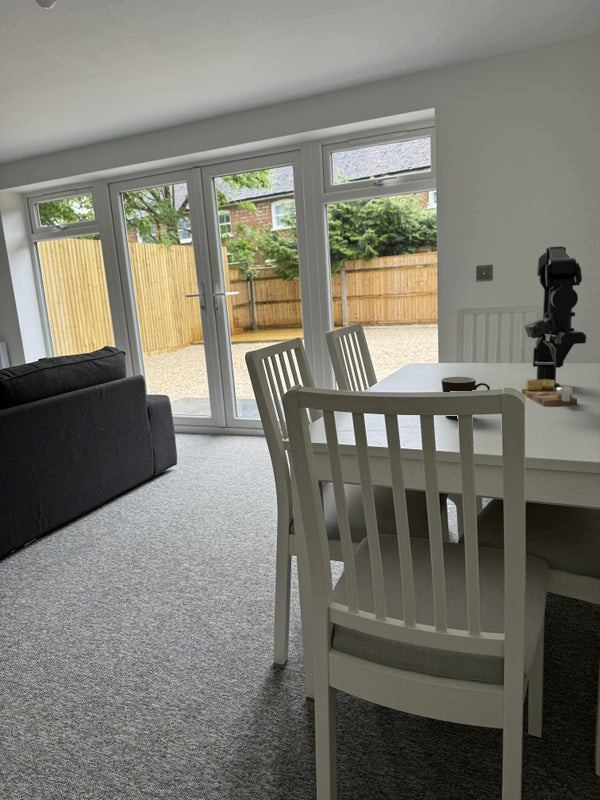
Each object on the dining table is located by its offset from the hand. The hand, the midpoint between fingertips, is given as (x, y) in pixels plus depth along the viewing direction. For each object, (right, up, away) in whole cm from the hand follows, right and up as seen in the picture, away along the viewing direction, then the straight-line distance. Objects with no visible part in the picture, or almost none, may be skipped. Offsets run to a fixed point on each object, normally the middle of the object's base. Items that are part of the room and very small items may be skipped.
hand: (557, 367), depth 153 cm
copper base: (+3, -8, +12) cm, 15 cm away
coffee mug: (-26, -13, -4) cm, 30 cm away
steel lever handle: (+4, -8, +4) cm, 10 cm away
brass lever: (+3, -5, +18) cm, 19 cm away
